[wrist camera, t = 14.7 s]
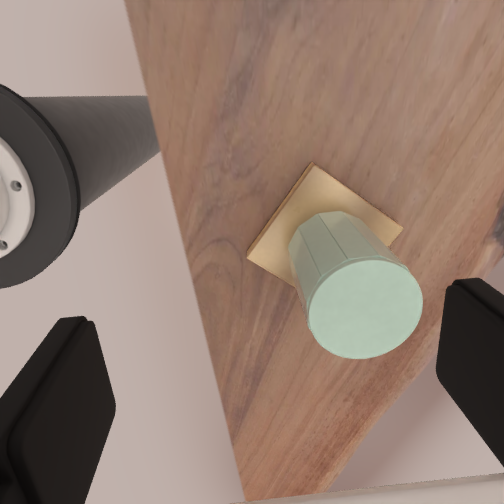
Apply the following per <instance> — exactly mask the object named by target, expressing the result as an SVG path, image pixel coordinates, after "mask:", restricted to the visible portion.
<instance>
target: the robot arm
mask: <svg viewBox="0 0 504 504" xmlns="http://www.w3.org/2000/svg"><path fill="white" fill-rule="evenodd" d="M19 182H20V184H21V185H22V186H20V184H19ZM34 214H35V198H34V192H33V186H32V183H31V181H30V178H29V175H28V173H27V171H26V169H25V167H24V165H23V164H22V162H21V160H20V158H19V157H18V156H17V154H16V153H15V152H14V151H13V149H12V148H11V147H10V146H9V145H8V144H7V143H6V142H5V141H4V140H3V139H2V138H1V137H0V258H1V257H3V256H5V255H7V254H8V253H10V252H11V251H12V250H14V249H15V248H16V247H18V246H19V244H20V243H21V242H22V241H23V240H24V239H25V238H26V236H27V234H28V232H29V230H30V228H31V226H32V222H33V218H34ZM436 374H437V377H438V379H439V381H440V383H441V384H442V385H443V387H444V388H445V389H446V391H447V392H448V393H449V395H450V396H451V397H452V399H453V400H454V401H455V403H456V404H457V405H458V407H459V408H460V409H461V411H462V412H463V413H464V414H465V416H466V417H467V419H468V420H469V421H470V423H471V424H472V425H473V427H474V428H475V429H476V431H477V432H478V433H479V435H480V436H481V437H482V439H483V440H484V441H485V443H486V444H487V445H488V447H489V448H490V449H491V451H492V452H493V453H494V455H495V456H496V457H497V459H498V460H499V461H500V463H501V464H502V465H503V467H504V295H503V294H501V293H500V292H499V291H497V290H496V289H494V288H493V287H491V286H490V285H489V284H487V283H486V282H485V281H483V280H482V279H480V278H469V279H458V280H455V281H453V283H452V285H451V286H448V287H447V289H446V293H445V301H444V309H443V316H442V324H441V332H440V339H439V347H438V355H437V362H436ZM115 410H116V403H115V398H114V395H113V391H112V387H111V383H110V380H109V376H108V372H107V368H106V365H105V361H104V357H103V353H102V350H101V346H100V342H99V339H98V335H97V331H96V327H95V324H94V322H93V321H87V319H86V317H84V316H77V317H68V318H60V319H59V320H58V321H57V322H56V324H55V325H54V326H53V328H52V329H51V330H50V332H49V333H48V334H47V336H46V337H45V338H44V340H43V341H42V343H41V344H40V345H39V347H38V348H37V349H36V351H35V352H34V353H33V355H32V356H31V357H30V359H29V360H28V361H27V363H26V364H25V366H24V367H23V368H22V370H21V371H20V372H19V374H18V375H17V376H16V378H15V379H14V380H13V382H12V383H11V385H10V386H9V387H8V389H7V390H6V391H5V393H4V394H3V395H2V397H1V398H0V504H85V500H86V498H87V495H88V492H89V489H90V486H91V483H92V480H93V477H94V474H95V471H96V469H97V465H98V463H99V460H100V457H101V454H102V451H103V448H104V445H105V442H106V440H107V436H108V433H109V431H110V428H111V425H112V422H113V419H114V416H115ZM232 504H504V473H499V474H489V475H480V476H472V477H461V478H452V479H443V480H434V481H424V482H415V483H406V484H397V485H388V486H380V487H370V488H362V489H353V490H344V491H335V492H326V493H317V494H309V495H300V496H291V497H283V498H274V499H265V500H256V501H248V502H240V503H232Z"/></svg>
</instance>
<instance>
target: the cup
mask: <svg viewBox="0 0 504 504" xmlns="http://www.w3.org/2000/svg"><path fill="white" fill-rule="evenodd" d="M288 256H289V267H290V270H291V273H292V277H293V280H294V283H295V286H296V290H297V293H298V296H299V299H300V302H301V306H302V309H303V312H304V315H305V319H306V322H307V325H308V328H309V329H310V330H311V332H312V334H313V336H314V337H315V339H316V340H317V342H318V343H319V344H320V345H321V346H322V347H324V348H325V349H326V350H328V351H329V352H331V353H333V354H335V355H338V356H341V357H344V358H350V359H366V358H372V357H376V356H379V355H382V354H384V353H387V352H389V351H391V350H393V349H394V348H396V347H397V346H399V345H400V344H401V343H402V342H404V341H405V340H406V339H407V338H408V337H409V336H410V334H411V333H412V332H413V331H414V329H415V327H416V326H417V324H418V322H419V319H420V316H421V313H422V307H423V298H422V292H421V289H420V286H419V285H418V283H417V281H416V279H415V278H414V277H413V276H412V275H411V273H410V272H409V270H408V268H407V267H406V266H405V265H404V264H403V263H402V262H401V261H400V260H399V259H398V258H397V256H396V255H395V254H394V253H393V252H392V251H391V250H390V249H389V248H388V247H387V246H386V245H385V244H384V243H383V242H382V241H381V240H380V239H379V238H378V237H377V236H376V235H375V234H374V233H373V232H372V231H371V229H370V228H369V227H368V226H367V225H366V224H365V223H364V222H363V221H362V220H361V219H359V218H356V217H354V216H352V215H350V214H347V213H345V212H343V211H334V212H325V213H318V214H316V215H314V216H313V217H312V218H310V219H309V220H307V221H306V222H304V223H303V224H301V225H300V226H299V227H298V228H297V230H296V232H295V234H294V236H293V237H292V239H291V241H290V243H289V245H288Z"/></svg>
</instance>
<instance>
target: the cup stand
mask: <svg viewBox="0 0 504 504" xmlns="http://www.w3.org/2000/svg"><path fill="white" fill-rule="evenodd" d="M334 211H343V212H345V213H347V214H350V215H352V216H354V217H356V218H359V219H361V220H362V221H363V222H364V223H365V224H366V225H367V226H368V227H369V228H370V229H371V231H372V232H373V233H374V234H375V235H376V236H377V237H378V238H379V239H380V240H381V241H382V242H383V243H384V244H385V245H386V246H387V247H388V246H389V245H390V244H391V243H392V242H393V240H394V239H395V238H396V237H397V236H398V235H399V233H400V232H401V231H402V230H403V227H402V226H400V225H399V224H398V223H396V222H395V221H394V220H392V219H391V218H389V217H388V216H387V215H385V214H384V213H382V212H381V211H380V210H378V209H377V208H375V207H374V206H373V205H371V204H370V203H368V202H367V201H366V200H364V199H363V198H361V197H360V196H359V195H357V194H356V193H354V192H353V191H352V190H350V189H349V188H348V187H346V186H345V185H343V184H342V183H341V182H339V181H338V180H336V179H335V178H334V177H332V176H331V175H329V174H328V173H327V172H325V171H324V170H322V169H321V168H320V167H318V166H317V165H315V164H314V163H313V162H311V163H310V164H309V166H308V167H307V169H306V170H305V171H304V173H303V174H302V176H301V177H300V178H299V180H298V181H297V183H296V184H295V185H294V187H293V188H292V189H291V191H290V192H289V194H288V195H287V196H286V198H285V199H284V201H283V202H282V203H281V205H280V206H279V208H278V209H277V210H276V212H275V213H274V214H273V216H272V217H271V219H270V220H269V221H268V223H267V224H266V226H265V227H264V228H263V230H262V231H261V233H260V234H259V235H258V237H257V238H256V239H255V241H254V242H253V244H252V245H251V246H250V248H249V249H248V251H247V252H246V253H247V259H249V260H250V261H252V262H254V263H255V264H257V265H259V266H260V267H262V268H263V269H265V270H267V271H268V272H270V273H272V274H273V275H275V276H277V277H278V278H280V279H282V280H283V281H285V282H286V283H288V284H290V285H291V286H293V287H295V288H296V286H295V283H294V280H293V277H292V273H291V270H290V267H289V256H288V245H289V243H290V241H291V239H292V237H293V236H294V234H295V232H296V230H297V228H298V227H299V226H300V225H301V224H303V223H304V222H306V221H307V220H309V219H310V218H312V217H313V216H314V215H316V214H318V213H325V212H334Z"/></svg>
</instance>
